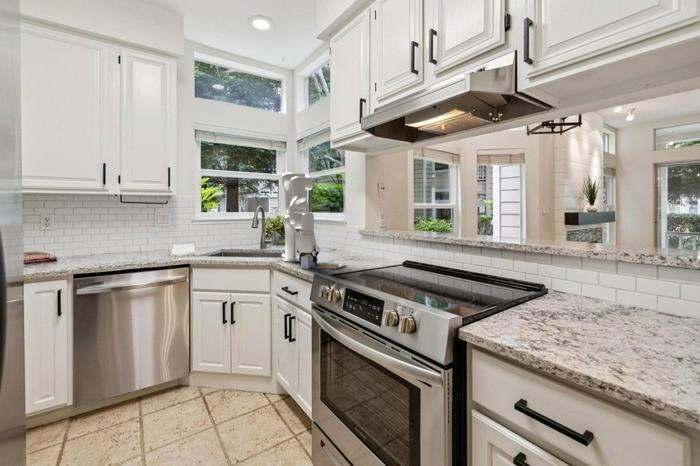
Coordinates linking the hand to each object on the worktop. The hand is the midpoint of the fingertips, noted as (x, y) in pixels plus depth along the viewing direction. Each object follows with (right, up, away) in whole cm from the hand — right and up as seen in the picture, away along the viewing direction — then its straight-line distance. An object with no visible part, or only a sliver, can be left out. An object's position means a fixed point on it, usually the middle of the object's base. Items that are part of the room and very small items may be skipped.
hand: (308, 261), depth 198 cm
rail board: (+14, -4, +2) cm, 15 cm away
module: (0, -4, +1) cm, 4 cm away
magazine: (-2, -3, +17) cm, 17 cm away
